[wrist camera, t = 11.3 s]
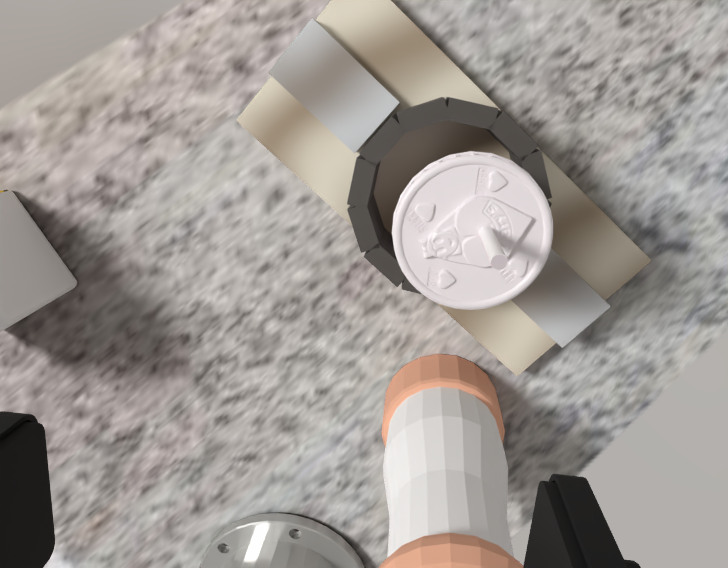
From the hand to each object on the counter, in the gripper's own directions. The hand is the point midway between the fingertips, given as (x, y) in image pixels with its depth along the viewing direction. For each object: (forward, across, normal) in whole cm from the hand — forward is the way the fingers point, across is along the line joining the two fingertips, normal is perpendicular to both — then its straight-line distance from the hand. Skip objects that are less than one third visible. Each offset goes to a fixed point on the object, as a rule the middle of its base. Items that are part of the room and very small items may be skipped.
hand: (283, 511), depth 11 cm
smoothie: (+24, -4, -3) cm, 24 cm away
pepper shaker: (+26, -5, +11) cm, 28 cm away
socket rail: (+25, -4, -3) cm, 26 cm away
